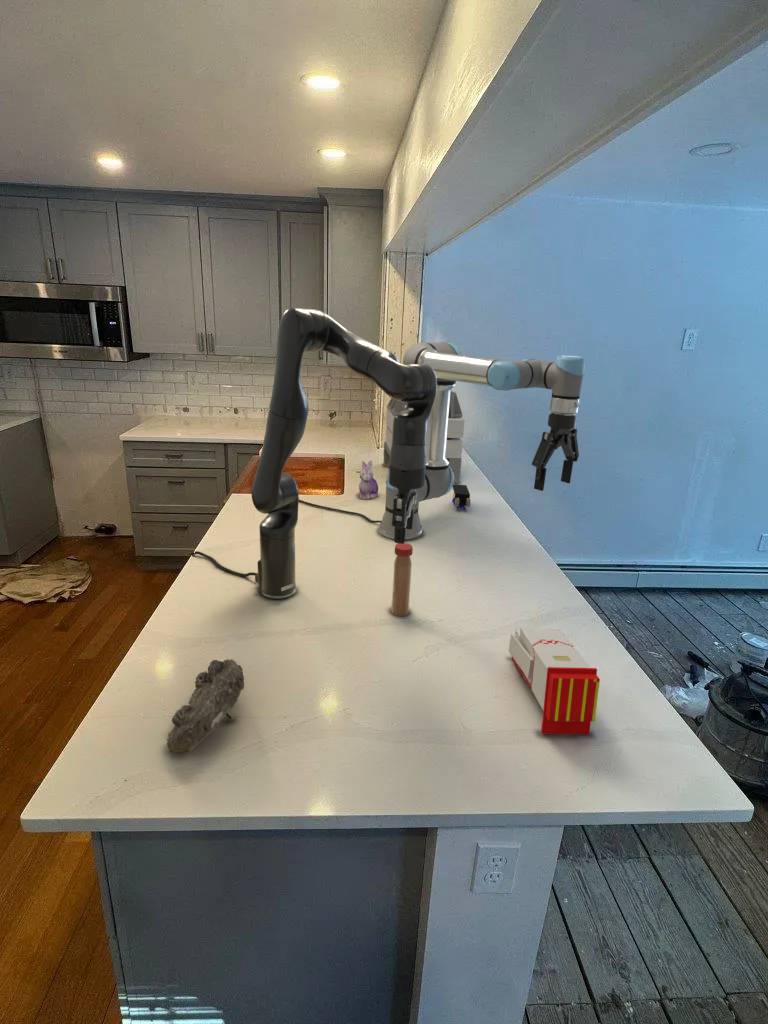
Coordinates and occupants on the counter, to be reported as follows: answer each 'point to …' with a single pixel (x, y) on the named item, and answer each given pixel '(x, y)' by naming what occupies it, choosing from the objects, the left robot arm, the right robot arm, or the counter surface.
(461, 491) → the figurine character
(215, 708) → the fossil
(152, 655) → the counter surface
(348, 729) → the counter surface
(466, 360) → the right robot arm
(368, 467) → the figurine
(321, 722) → the counter surface
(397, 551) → the cap
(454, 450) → the grey tiered storage bin
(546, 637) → the toy
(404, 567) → the bottle
